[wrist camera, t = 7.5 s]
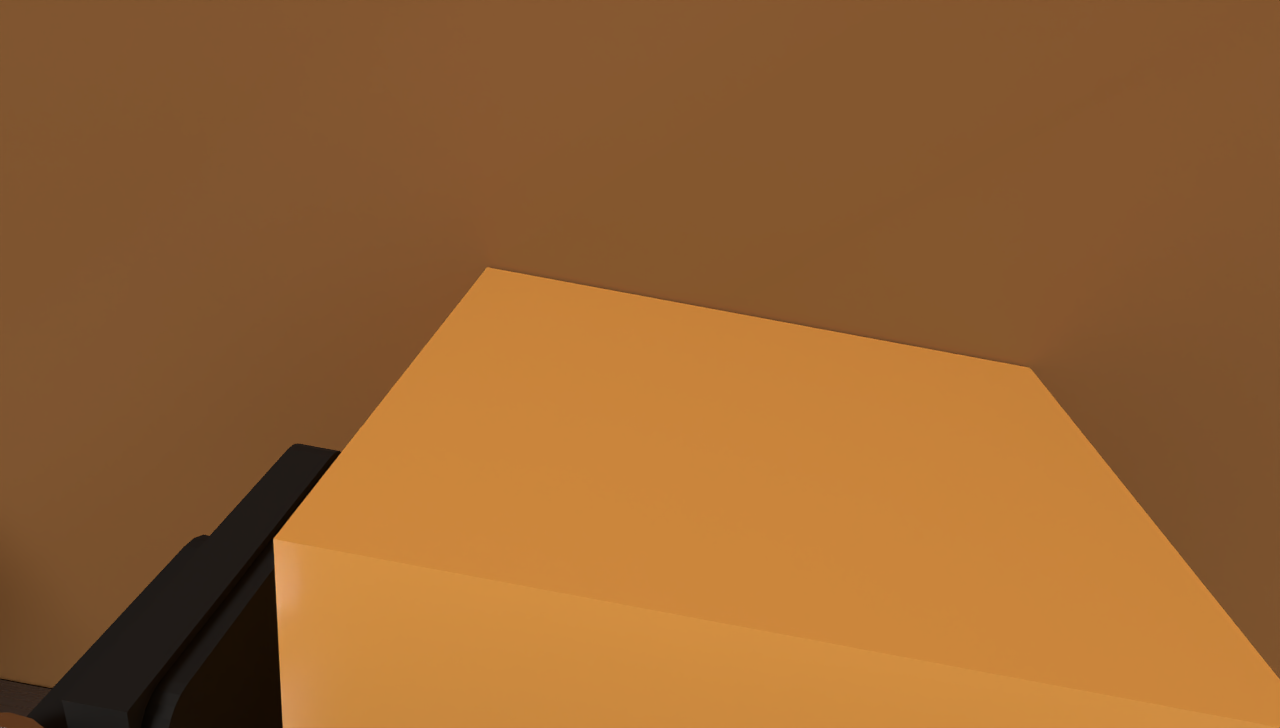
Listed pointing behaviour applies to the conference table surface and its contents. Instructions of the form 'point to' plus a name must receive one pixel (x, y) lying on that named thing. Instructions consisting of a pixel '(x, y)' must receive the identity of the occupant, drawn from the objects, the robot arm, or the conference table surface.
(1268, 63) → the conference table surface
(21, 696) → the panel
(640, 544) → the cap
